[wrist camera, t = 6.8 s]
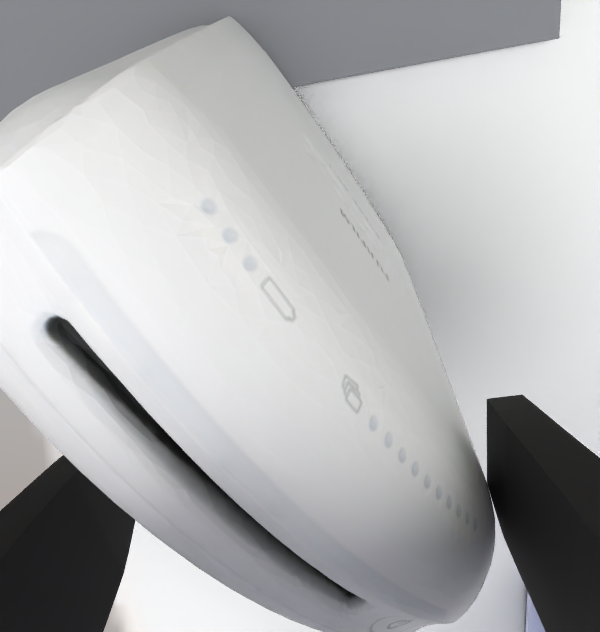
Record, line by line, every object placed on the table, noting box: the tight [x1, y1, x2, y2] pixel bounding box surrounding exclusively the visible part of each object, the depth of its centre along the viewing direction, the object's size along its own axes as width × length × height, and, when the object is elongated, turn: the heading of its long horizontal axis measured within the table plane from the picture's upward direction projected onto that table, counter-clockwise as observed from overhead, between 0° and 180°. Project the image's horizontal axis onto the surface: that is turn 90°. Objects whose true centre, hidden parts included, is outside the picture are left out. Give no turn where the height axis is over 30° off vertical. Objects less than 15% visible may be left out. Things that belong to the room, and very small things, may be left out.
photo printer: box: [0, 16, 495, 632], centre depth 11 cm, size 10×4×12 cm, turn 35°
